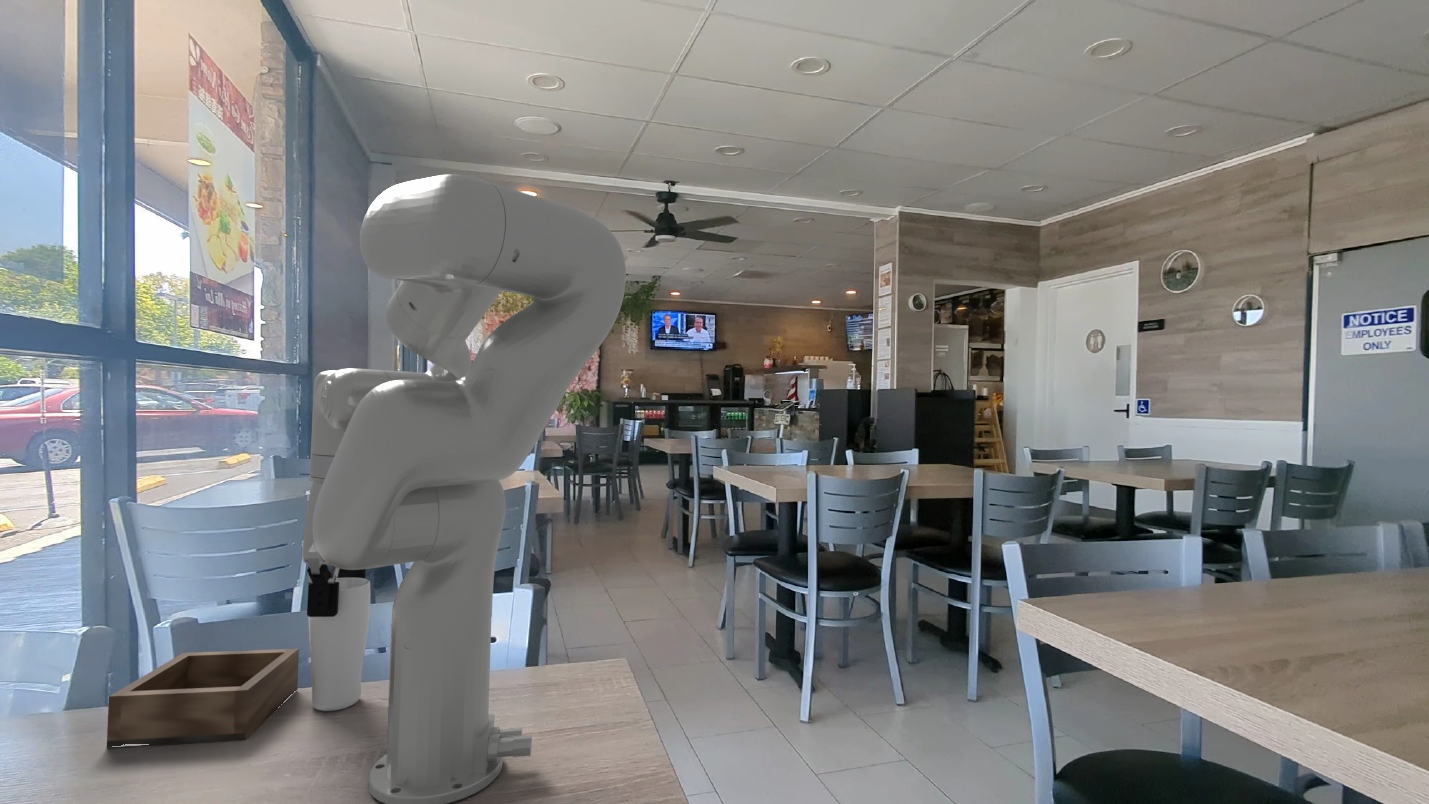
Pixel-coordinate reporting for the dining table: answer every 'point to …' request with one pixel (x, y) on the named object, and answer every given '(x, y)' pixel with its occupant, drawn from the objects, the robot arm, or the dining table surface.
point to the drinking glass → (340, 647)
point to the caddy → (203, 698)
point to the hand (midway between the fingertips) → (337, 603)
